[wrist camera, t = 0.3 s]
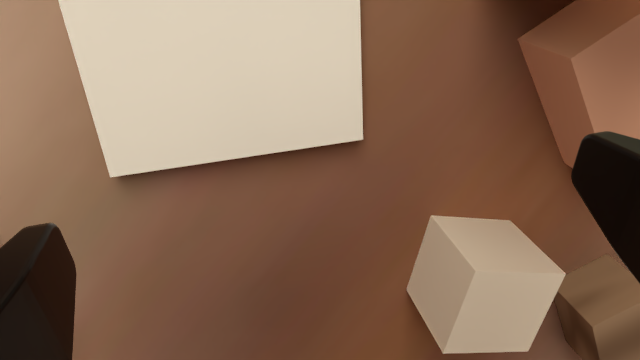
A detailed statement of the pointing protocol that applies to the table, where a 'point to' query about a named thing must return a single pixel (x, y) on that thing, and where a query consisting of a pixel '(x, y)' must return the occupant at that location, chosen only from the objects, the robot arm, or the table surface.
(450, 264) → the cream cube
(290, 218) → the table surface
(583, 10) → the terracotta brick
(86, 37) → the white tile
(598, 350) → the walnut block
